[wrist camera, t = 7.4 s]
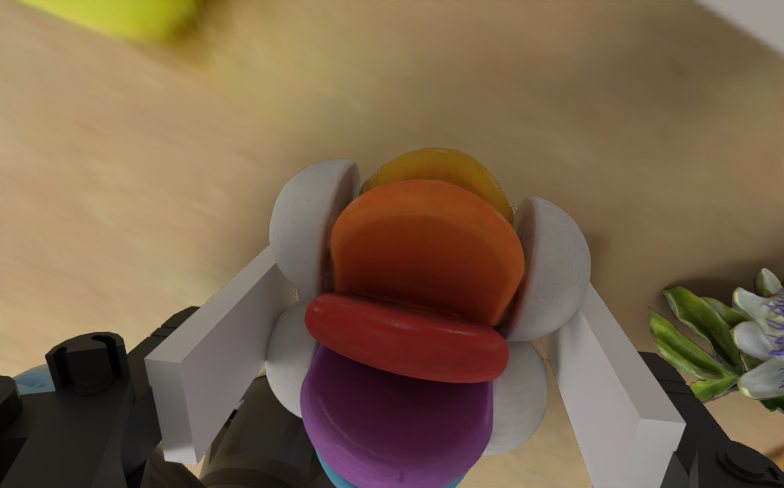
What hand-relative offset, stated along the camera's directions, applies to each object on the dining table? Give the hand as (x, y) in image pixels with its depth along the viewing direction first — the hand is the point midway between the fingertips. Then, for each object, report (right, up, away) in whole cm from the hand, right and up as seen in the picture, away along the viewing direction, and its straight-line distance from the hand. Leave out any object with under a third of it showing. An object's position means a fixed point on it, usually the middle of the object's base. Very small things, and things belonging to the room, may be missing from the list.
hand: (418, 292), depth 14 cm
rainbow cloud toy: (0, 0, 0) cm, 1 cm away
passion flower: (+24, -4, +17) cm, 30 cm away
